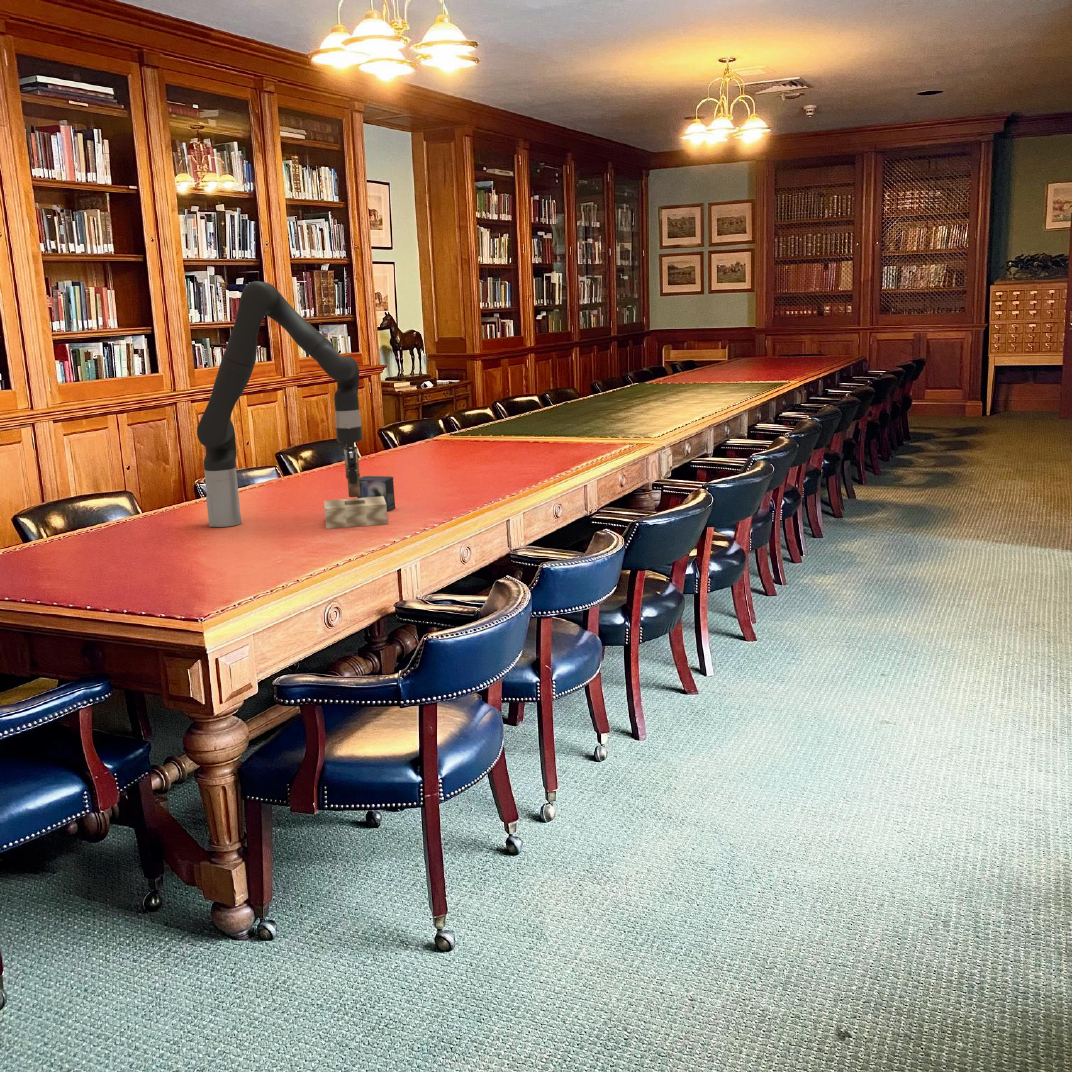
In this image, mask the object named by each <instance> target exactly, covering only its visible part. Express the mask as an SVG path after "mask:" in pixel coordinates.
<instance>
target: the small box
mask: <svg viewBox="0 0 1072 1072" xmlns="http://www.w3.org/2000/svg"><path fill="white" fill-rule="evenodd" d="M359 486H360V496H359V497H356V498H366V497H380V496H384V499H385V502H386V506H387V513H388V512H391V511H393V510H395V509H396V502H395V500H396V499H395V486H394V476H388V475H387V476H386V475H383V476H382V475H375V476H374V475H364V476H363V475H362V476H360V478H359Z"/></svg>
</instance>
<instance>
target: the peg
mask: <svg viewBox="0 0 1072 1072" xmlns="http://www.w3.org/2000/svg"><path fill="white" fill-rule="evenodd" d="M347 460H348V459H347ZM357 461H358V462H357V463H356V467H357V471H356V474H357V483H356V484H350V481H349V472H348V464H346V458H345V457H344V467H345V478H346V480H347V491H348V497H349V498H357V497H359V496H360V486H359V478H361V474H360V464H359V463H360V461H359V455H357ZM350 466H355V465H354V463H351V464H350Z"/></svg>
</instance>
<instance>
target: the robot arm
mask: <svg viewBox="0 0 1072 1072" xmlns="http://www.w3.org/2000/svg"><path fill="white" fill-rule="evenodd" d="M265 316H267V317H269V318H270V319H271V320H273V321H275V322H276V323H277V324H279V326H281V327H282V328H283V329H284V330H285V331H286V332H287V333H288V334H289V336H290V337H291V338H292V340H293V341H294V342H295V344H296V345H297V346H298V347H300V349H302V350H303V351H304V352H305V353H306V354H308V355H309V356H310V357H311V358H312V359H313V360H315V362H317V363H318V365H319V367H321V369H322V370H323V371H324V372H325V373H326V374H327V376H329V377H330V378H331V379H333V380H334V381H336V391H335V392H334V395H333V397H334V399H333V400H334V409H335V410H334V412H335V414H334V422H335V423H334V424H335V433H336V434H335V435H336V441H337V442H338V443H345V445H346V446H345V447H343V453H344V459H345V458H346V464H348V472H349V481H350V484H356V483H357V474H356V471H357V467H356V463H357V462H358V461H359V460H358V461H357V456H358V447H357V446H355V443H356V442H361V441H363V429H362V428H363V427H362V416H361V412H360V404H359V401H360V400H359V395H358V394H359V387H360V385H359V384H360V369H359V365H358V362H357V361H356V360H355V359H354V358H353V357H351V356H343V355H341V354H340V353H339V352H338V351H337V350H335V348H334V344H333V343H332V342H331V341H330V340H329V339H328V337H326V336H325V335H323V334H322V333H321V332H320V331H318V329H317V328H315V327H314V326H313V325H312V324H310V323H309V322H308V321H307V320H306V319H305V318H304V317H302V316H301V315H300V313H298V312H297V311H296V310H295V309H294V308H293V306H292V305H291V304H290V303H289V302H288V301H287V300H286V299H285V298H284V296H283V295H282V293H280V291H279V290H278V289H277V288H276V286H275V285H273V284H272V283H269V282H265V281H259V280H258V281H257V280H254V281H251V282H249V283H248V284H246V286H244V287H243V290H242V292H241V294H240V299H239V304H238V309H237V313H236V318H235V321H234V325H233V327H232V330H231V333H230V335H229V338H228V341H227V344H226V347H225V350H224V352H223V354H222V358H221V360H220V361H221V362H220V364H219V367H218V371H217V373H216V376H215V380H214V383H213V386H212V390H211V394H210V398H209V400H208V403H207V405H206V407H205V409H204V412H203V413H202V416H201V418H200V420H199V422H198V424H197V428H196V436H197V439H198V441H199V443H200V445H203V447H205V457H204V460H203V471H204V479H205V480H204V481H205V482H204V483H205V488H206V489H205V491H206V496H205V498H206V507H207V508H206V509H207V517H208V527H209V528H226V527H234V526H238V525H241V524H242V515H241V507H240V505H241V503H240V496H239V485H238V477H237V476H238V475H237V465H236V460H237V443H236V442H237V441H236V433H235V431H236V430H235V426H234V423H233V422H232V420H231V417H232V413H233V410H234V408H235V405H236V404H237V402H238V401H239V399H240V397H241V395H242V394H243V392H244V391H245V389H246V387H247V385H248V384H249V381H250V379H251V376H252V373H253V371H254V368H255V365H256V360H257V353H258V352H257V351H258V350H257V349H258V335H259V331H260V327H261V326H262V323H263V320H264V317H265ZM347 459H348V460H347ZM351 463H354V465H355V466H350V464H351Z"/></svg>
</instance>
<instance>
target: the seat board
mask: <svg viewBox="0 0 1072 1072" xmlns="http://www.w3.org/2000/svg"><path fill="white" fill-rule="evenodd" d="M323 504H324V506H323V507H324V509H323V510H324V520H325V529H326V530H330V529H342V528H343V529H344V528H354V527H367V526H381V525H382V526H383V525H388V524H389V523H388V512H387V506H386V502H385V499H384V496H380V497H366V498H357V497H352V498H343V499H330V500H327V499H326V500H323Z"/></svg>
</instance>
